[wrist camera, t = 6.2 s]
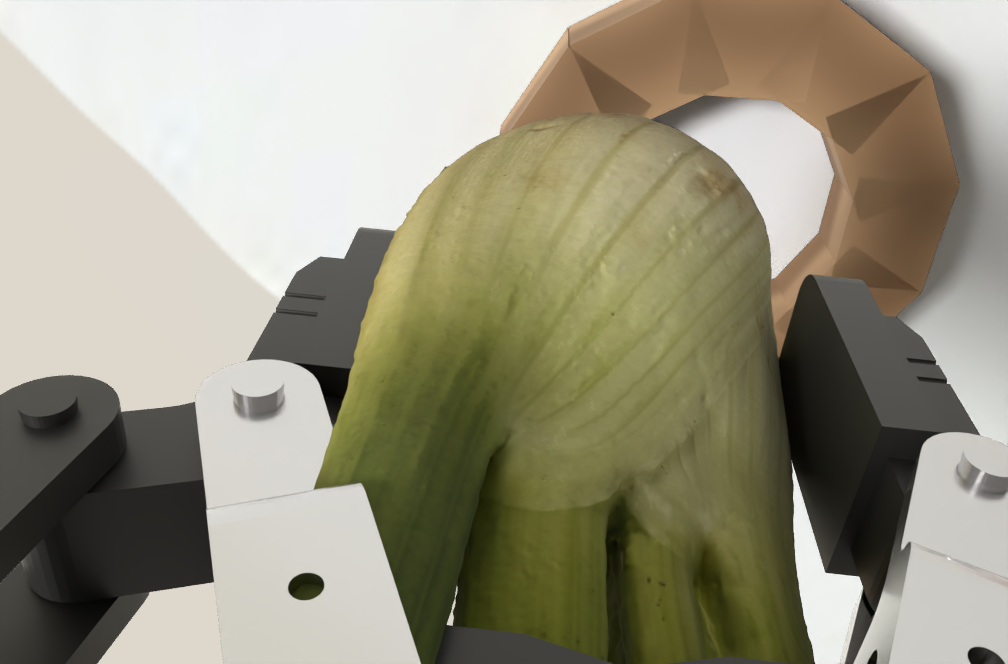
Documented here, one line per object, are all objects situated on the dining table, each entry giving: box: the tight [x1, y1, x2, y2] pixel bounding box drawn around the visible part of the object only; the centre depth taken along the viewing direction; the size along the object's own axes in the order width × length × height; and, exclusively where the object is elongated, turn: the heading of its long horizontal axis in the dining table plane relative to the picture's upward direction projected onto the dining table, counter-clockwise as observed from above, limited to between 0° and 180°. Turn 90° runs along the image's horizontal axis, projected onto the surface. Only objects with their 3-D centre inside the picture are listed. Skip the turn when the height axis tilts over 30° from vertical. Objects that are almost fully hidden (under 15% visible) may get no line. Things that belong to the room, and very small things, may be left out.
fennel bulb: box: [292, 112, 815, 664], centre depth 11 cm, size 6×5×12 cm
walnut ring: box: [500, 0, 959, 357], centre depth 29 cm, size 14×14×2 cm
